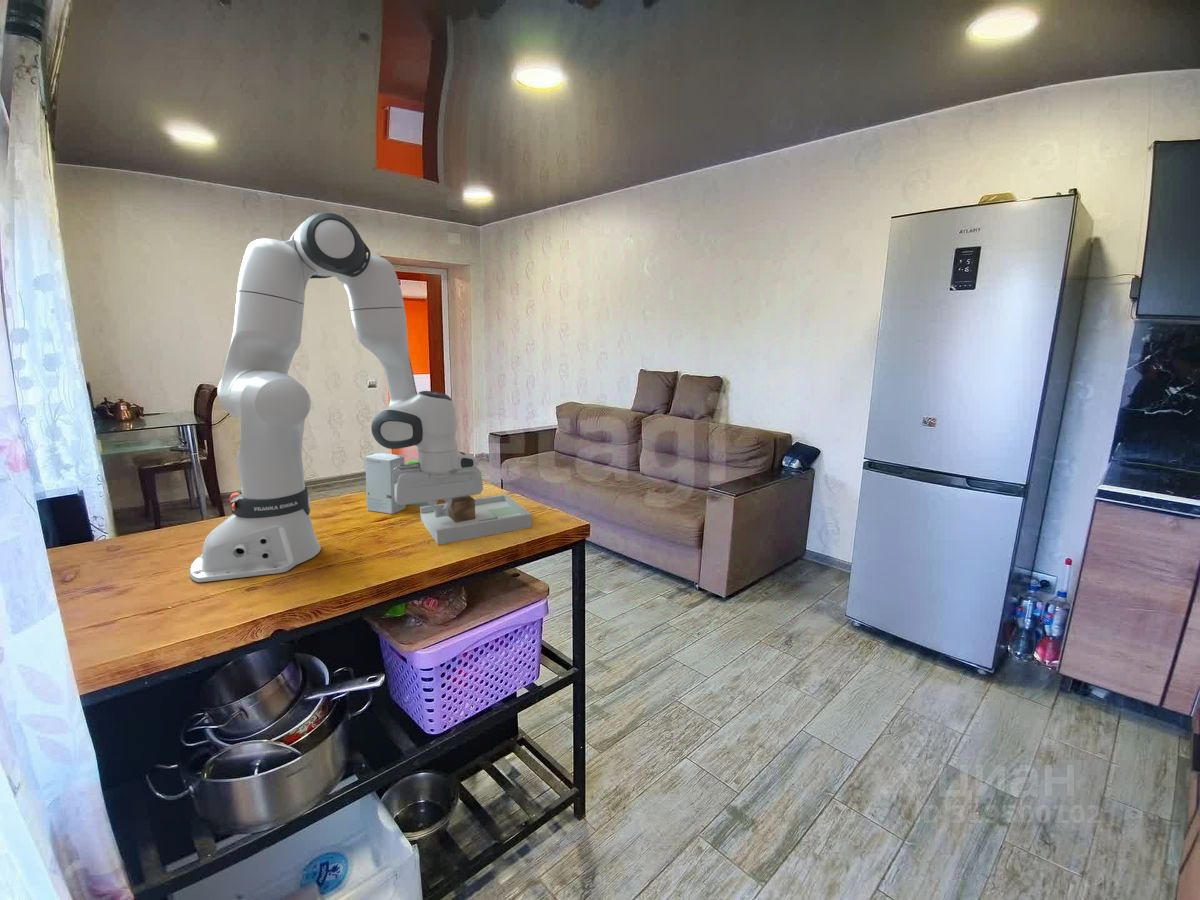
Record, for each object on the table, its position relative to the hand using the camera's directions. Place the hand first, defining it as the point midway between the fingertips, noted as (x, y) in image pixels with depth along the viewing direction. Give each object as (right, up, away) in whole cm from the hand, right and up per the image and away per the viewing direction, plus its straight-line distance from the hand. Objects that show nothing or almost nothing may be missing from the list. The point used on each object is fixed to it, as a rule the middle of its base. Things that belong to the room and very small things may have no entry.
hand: (441, 516), depth 124 cm
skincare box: (-19, 0, +14) cm, 23 cm away
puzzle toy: (-12, +2, +22) cm, 25 cm away
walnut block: (+4, -1, +3) cm, 5 cm away
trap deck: (+7, -3, +5) cm, 9 cm away
